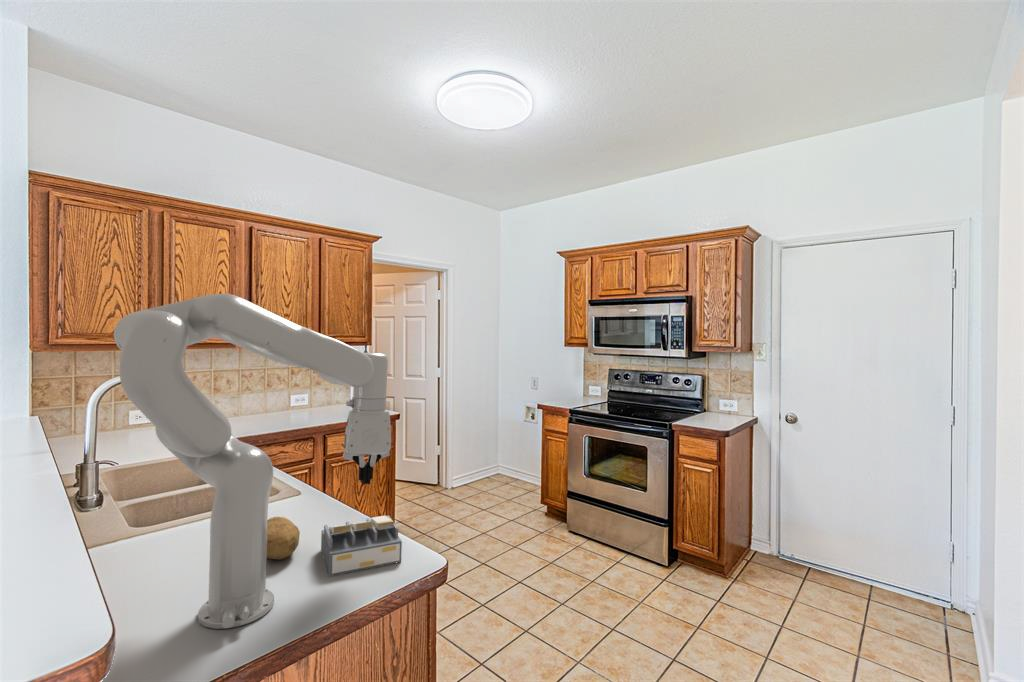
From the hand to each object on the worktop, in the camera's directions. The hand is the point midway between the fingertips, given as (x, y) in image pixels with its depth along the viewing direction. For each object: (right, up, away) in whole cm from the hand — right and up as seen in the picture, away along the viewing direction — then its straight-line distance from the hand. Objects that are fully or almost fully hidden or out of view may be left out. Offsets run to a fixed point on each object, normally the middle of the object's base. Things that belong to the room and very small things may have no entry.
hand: (365, 482), depth 113 cm
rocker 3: (+3, -11, +5) cm, 13 cm away
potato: (-21, -18, +1) cm, 28 cm away
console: (-2, -19, +3) cm, 19 cm away
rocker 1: (-6, -11, 0) cm, 13 cm away
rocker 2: (-2, -11, +3) cm, 11 cm away
